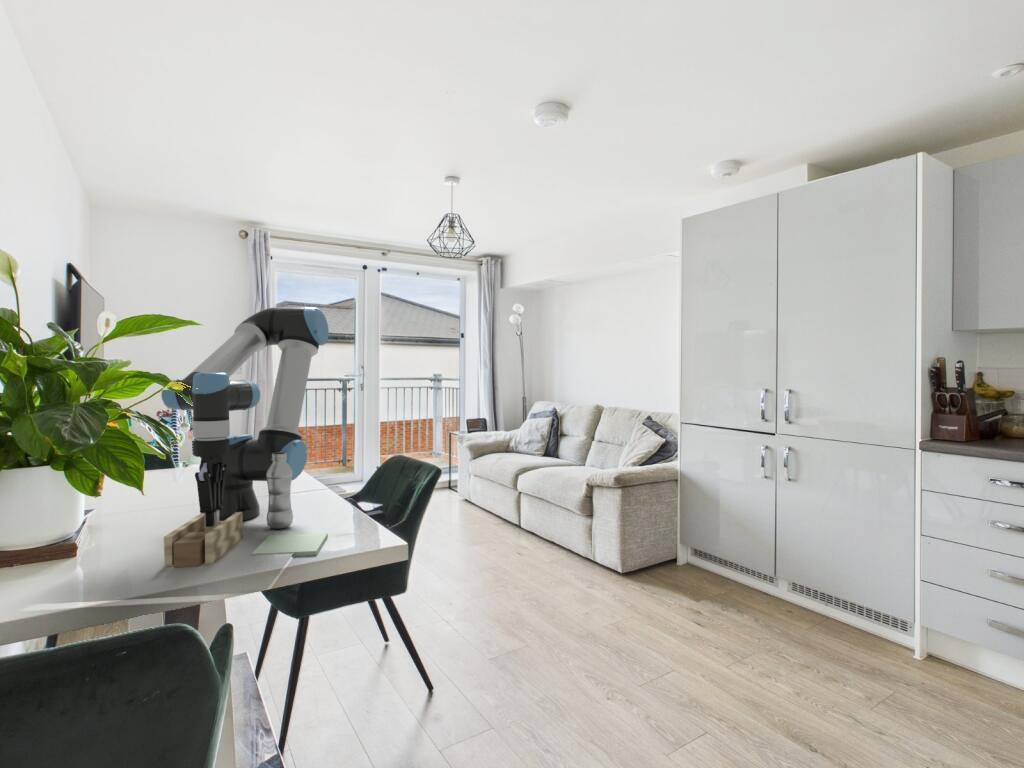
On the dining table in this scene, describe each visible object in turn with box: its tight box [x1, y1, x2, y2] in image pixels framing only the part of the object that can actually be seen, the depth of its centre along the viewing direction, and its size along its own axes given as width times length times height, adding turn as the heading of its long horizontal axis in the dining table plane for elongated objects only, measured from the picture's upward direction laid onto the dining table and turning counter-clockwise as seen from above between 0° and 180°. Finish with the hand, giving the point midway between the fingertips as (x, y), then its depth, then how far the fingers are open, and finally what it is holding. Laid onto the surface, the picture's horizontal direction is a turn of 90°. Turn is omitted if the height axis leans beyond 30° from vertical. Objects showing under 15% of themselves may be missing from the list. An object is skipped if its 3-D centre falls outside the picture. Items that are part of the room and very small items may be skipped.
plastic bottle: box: [266, 452, 294, 530], centre depth 147 cm, size 6×7×20 cm
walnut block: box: [173, 532, 208, 568], centre depth 120 cm, size 8×5×5 cm, turn 8°
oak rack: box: [163, 512, 244, 567], centre depth 126 cm, size 19×10×7 cm, turn 9°
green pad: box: [251, 532, 329, 557], centre depth 131 cm, size 14×14×1 cm
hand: (212, 538), depth 130 cm, fingers closed
